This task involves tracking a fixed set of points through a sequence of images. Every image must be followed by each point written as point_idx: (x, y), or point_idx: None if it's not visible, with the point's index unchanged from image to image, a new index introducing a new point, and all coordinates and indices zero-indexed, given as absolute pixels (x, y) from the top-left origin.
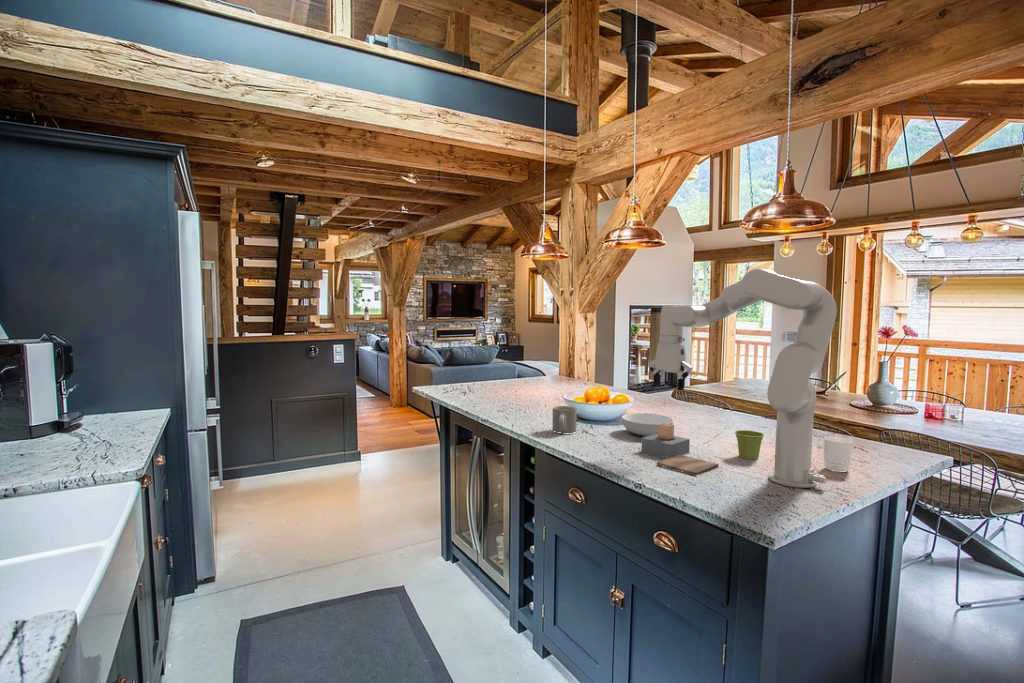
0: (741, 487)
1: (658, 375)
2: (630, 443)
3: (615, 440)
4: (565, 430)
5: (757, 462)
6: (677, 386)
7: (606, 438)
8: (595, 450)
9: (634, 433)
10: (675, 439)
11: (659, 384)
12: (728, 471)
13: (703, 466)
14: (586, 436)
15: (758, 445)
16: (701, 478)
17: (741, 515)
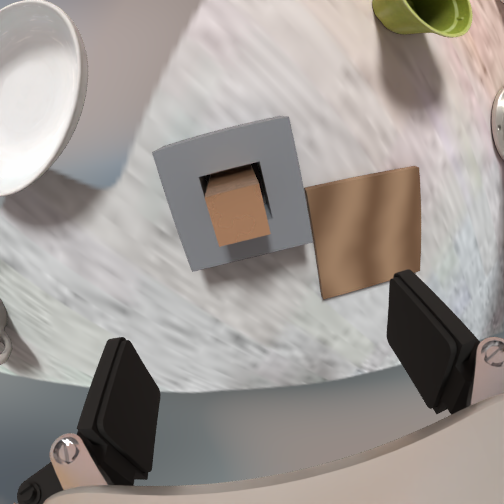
0: (484, 239)
1: (127, 451)
2: (103, 221)
3: (64, 242)
4: (3, 324)
5: (431, 39)
6: (398, 356)
7: (42, 252)
8: (146, 345)
9: (31, 155)
10: (266, 173)
11: (130, 351)
12: (441, 174)
13: (408, 220)
14: (22, 287)
15: (445, 11)
16: (428, 268)
17: (497, 319)
